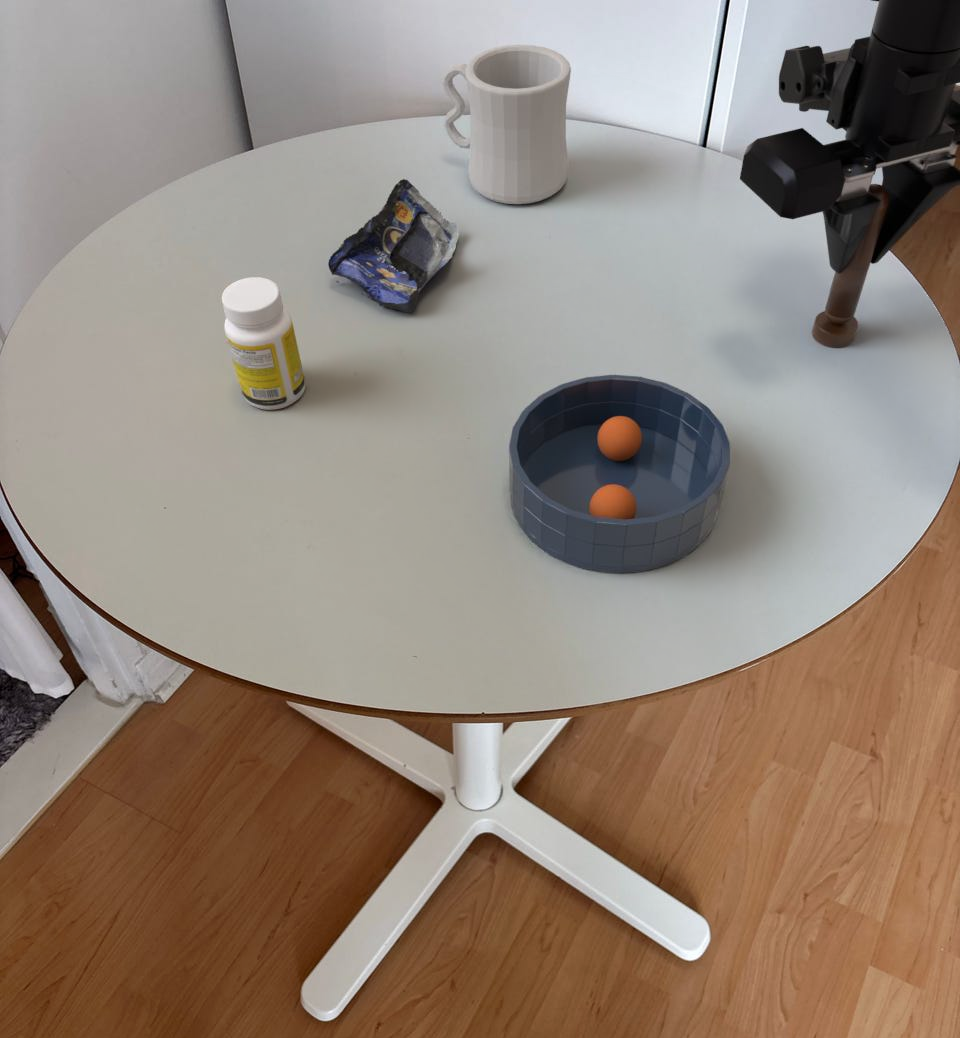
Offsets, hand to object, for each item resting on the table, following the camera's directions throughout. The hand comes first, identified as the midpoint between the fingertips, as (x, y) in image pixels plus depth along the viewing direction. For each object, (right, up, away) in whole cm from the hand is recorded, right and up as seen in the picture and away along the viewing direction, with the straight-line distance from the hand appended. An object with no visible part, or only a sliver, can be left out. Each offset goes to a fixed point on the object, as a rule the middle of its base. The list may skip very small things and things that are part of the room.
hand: (853, 265), depth 74 cm
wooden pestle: (0, -4, +5) cm, 6 cm away
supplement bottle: (-42, -9, +3) cm, 43 cm away
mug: (-25, +16, +21) cm, 36 cm away
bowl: (-18, -17, -5) cm, 26 cm away
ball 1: (-18, -13, -5) cm, 23 cm away
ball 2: (-19, -19, -8) cm, 28 cm away
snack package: (-33, +3, +12) cm, 35 cm away
